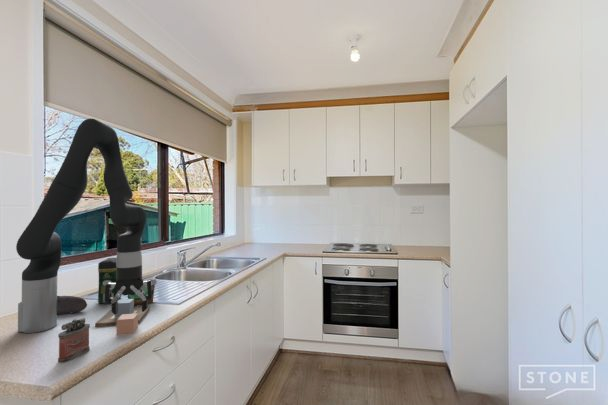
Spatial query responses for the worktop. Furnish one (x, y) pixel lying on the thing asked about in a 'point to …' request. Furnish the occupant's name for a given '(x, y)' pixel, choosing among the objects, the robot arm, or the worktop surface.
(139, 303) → the food container
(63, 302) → the perforated stone tool
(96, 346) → the worktop surface
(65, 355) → the lighter
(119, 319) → the terracotta block
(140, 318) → the walnut board
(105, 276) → the coffee jar
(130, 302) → the slate block
